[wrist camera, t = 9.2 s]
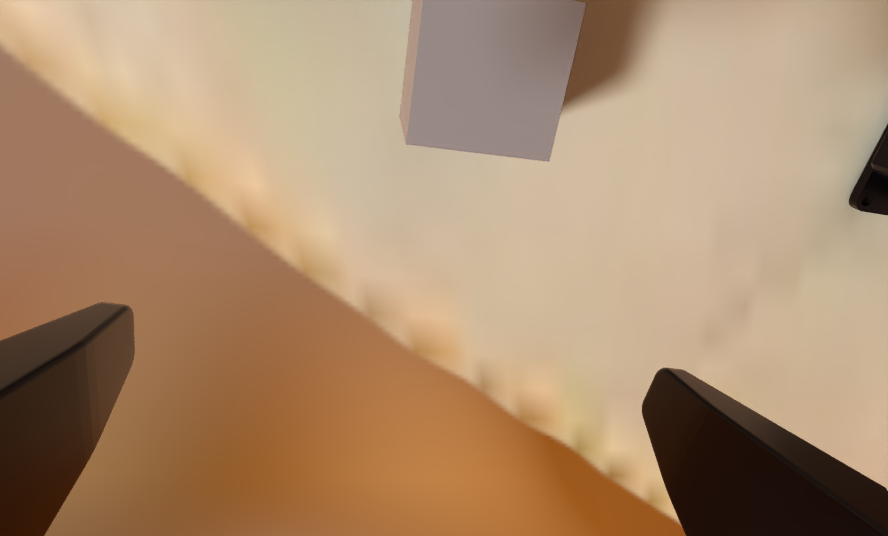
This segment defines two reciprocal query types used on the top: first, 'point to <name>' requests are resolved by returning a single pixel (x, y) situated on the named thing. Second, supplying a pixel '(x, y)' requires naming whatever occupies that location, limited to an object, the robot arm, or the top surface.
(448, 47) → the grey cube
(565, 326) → the top surface
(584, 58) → the top surface
